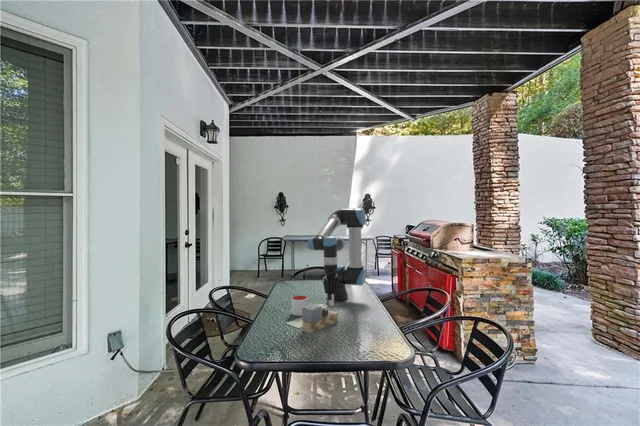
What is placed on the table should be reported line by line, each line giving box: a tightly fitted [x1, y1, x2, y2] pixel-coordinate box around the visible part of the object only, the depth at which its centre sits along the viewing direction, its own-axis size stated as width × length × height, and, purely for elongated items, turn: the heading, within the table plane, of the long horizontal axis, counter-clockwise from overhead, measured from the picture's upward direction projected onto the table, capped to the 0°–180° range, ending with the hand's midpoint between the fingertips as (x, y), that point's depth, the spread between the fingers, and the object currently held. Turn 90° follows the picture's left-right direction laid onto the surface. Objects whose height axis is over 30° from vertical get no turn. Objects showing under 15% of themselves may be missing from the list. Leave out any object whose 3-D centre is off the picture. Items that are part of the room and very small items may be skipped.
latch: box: [322, 307, 329, 316], centre depth 162 cm, size 3×3×4 cm
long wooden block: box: [302, 310, 339, 334], centre depth 160 cm, size 22×6×5 cm, turn 136°
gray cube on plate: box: [301, 303, 323, 324], centre depth 156 cm, size 8×7×7 cm
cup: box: [290, 295, 309, 317], centre depth 180 cm, size 10×10×10 cm
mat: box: [285, 316, 303, 330], centre depth 165 cm, size 12×11×1 cm
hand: (331, 305), depth 167 cm, fingers closed
